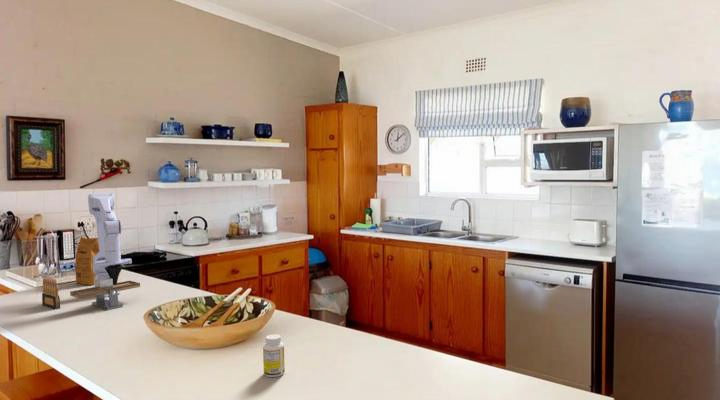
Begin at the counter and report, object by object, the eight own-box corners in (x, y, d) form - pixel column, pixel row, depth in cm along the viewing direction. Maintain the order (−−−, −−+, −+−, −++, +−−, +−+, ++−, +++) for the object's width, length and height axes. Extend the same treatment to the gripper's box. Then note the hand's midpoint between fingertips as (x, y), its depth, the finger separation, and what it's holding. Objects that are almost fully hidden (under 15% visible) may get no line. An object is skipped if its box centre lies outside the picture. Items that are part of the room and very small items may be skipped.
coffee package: (90, 279, 256) (88, 235, 255) (108, 281, 251) (106, 236, 250) (71, 284, 247) (69, 238, 246) (89, 286, 242) (87, 239, 241)
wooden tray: (69, 297, 202) (69, 291, 201) (129, 285, 220) (129, 280, 220) (80, 301, 196) (80, 294, 196) (140, 288, 215) (140, 283, 215)
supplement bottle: (275, 368, 144) (274, 331, 143) (289, 373, 140) (288, 336, 139) (259, 374, 140) (258, 337, 139) (273, 380, 136) (272, 341, 135)
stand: (91, 304, 210) (90, 286, 210) (106, 301, 215) (105, 283, 214) (107, 310, 202) (106, 291, 202) (122, 306, 207) (121, 288, 206)
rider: (95, 289, 207) (94, 279, 207) (107, 286, 211) (107, 277, 211) (100, 290, 205) (100, 280, 204) (113, 288, 209) (112, 278, 208)
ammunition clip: (42, 305, 210) (40, 276, 209) (47, 304, 212) (45, 275, 211) (55, 309, 204) (53, 279, 203) (60, 308, 206) (58, 278, 205)
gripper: (99, 254, 201) (101, 288, 202) (135, 248, 213) (136, 281, 214) (90, 252, 206) (92, 286, 207) (126, 247, 217) (127, 279, 218)
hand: (114, 283), depth 211 cm, fingers closed
